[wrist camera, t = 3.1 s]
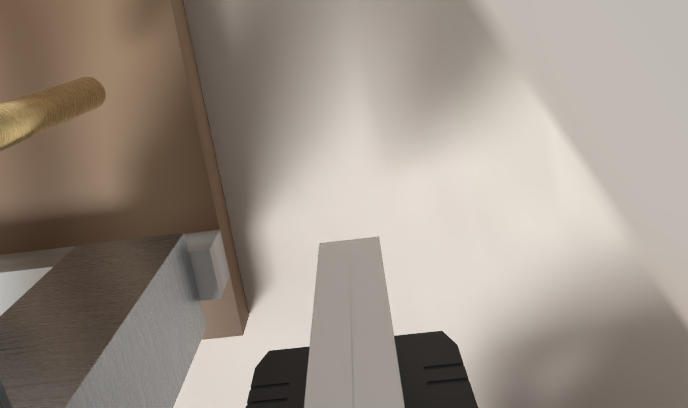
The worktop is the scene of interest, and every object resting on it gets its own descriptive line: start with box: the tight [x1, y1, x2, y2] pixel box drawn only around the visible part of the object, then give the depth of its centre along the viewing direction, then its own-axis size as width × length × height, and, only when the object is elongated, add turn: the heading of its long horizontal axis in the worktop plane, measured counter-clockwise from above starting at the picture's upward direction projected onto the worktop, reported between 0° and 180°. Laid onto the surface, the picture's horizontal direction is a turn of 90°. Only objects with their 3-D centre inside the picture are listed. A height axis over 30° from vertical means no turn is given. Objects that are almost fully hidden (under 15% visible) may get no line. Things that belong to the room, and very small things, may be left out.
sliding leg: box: [0, 77, 207, 408], centre depth 11 cm, size 3×8×9 cm, turn 7°
